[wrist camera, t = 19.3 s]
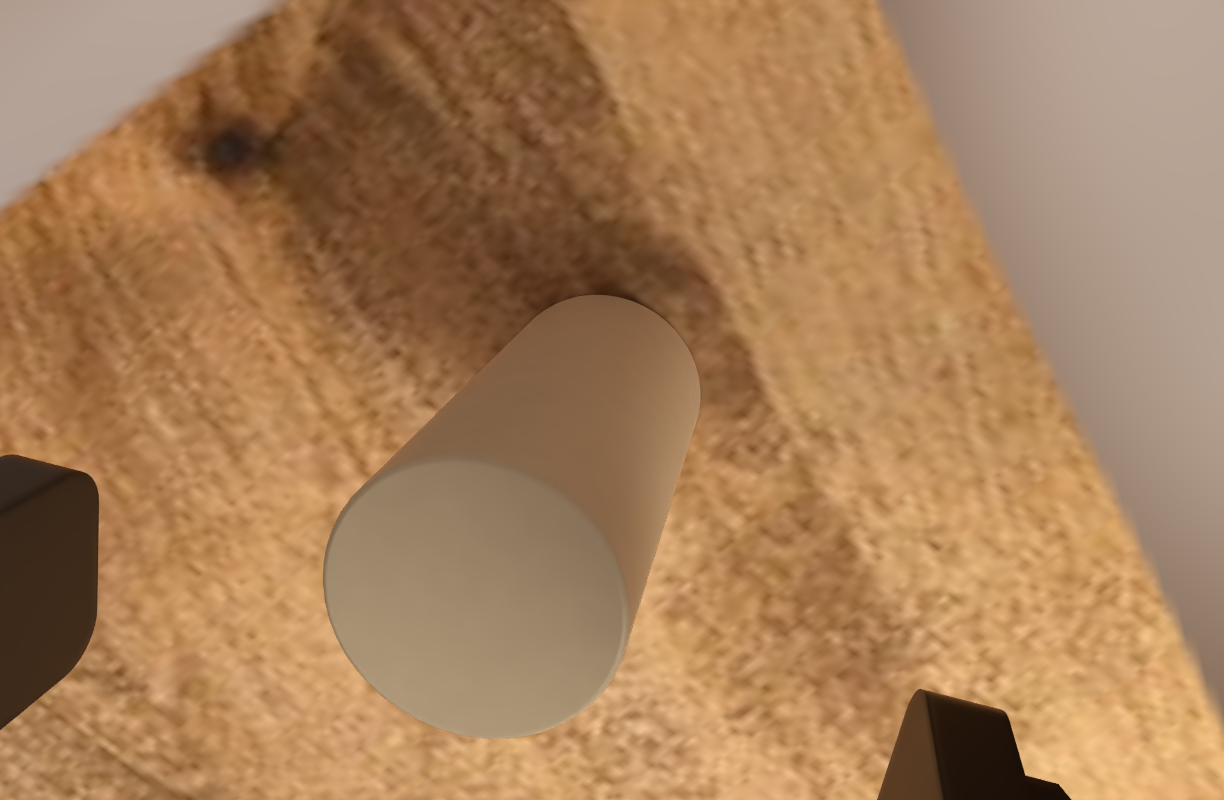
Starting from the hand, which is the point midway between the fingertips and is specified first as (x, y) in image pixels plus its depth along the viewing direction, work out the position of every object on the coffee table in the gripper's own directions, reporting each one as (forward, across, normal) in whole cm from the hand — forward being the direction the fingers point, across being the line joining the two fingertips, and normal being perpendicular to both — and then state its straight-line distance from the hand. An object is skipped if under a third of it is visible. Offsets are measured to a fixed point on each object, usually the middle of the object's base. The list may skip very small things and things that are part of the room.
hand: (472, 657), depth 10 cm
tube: (+8, 0, 0) cm, 8 cm away
